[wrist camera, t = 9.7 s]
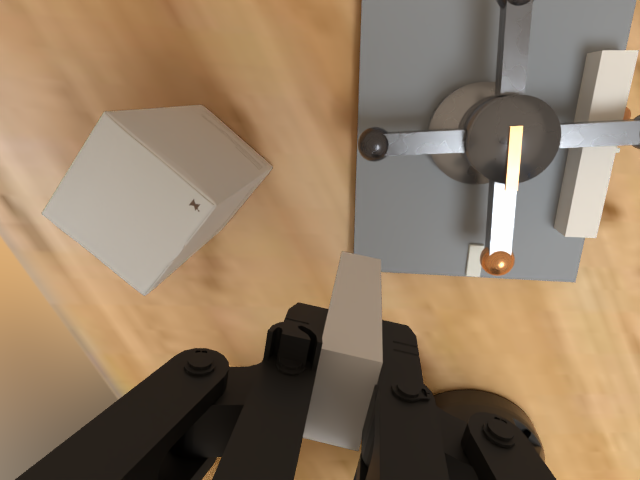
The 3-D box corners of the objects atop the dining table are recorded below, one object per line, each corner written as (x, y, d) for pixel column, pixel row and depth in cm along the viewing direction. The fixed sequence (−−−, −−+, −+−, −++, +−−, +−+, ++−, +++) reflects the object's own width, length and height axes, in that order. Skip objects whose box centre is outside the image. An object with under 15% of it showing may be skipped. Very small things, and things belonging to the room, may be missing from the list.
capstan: (661, -33, 30) (733, -64, 24) (614, 254, 37) (660, 286, 31) (355, -3, 33) (350, -24, 27) (363, 257, 40) (360, 286, 34)
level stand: (575, 275, 40) (595, 294, 36) (354, 264, 42) (351, 280, 39) (638, -18, 32) (671, -32, 28) (362, -11, 35) (361, -24, 31)
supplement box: (201, 100, 39) (102, 104, 25) (275, 166, 40) (221, 205, 26) (149, 173, 42) (34, 213, 28) (219, 233, 43) (143, 300, 29)
